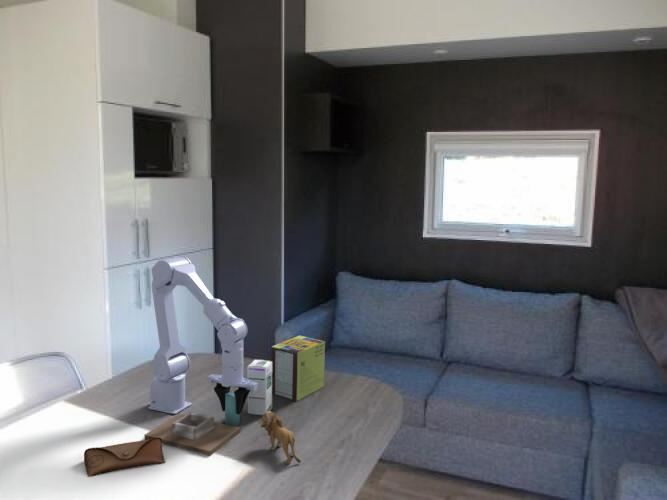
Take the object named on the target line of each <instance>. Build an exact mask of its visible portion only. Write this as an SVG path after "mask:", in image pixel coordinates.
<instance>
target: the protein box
mask: <svg viewBox="0 0 667 500" xmlns="http://www.w3.org/2000/svg"><path fill="white" fill-rule="evenodd" d="M270 349H271V350H270V355H271V357H270V361H272V396H273V395H274V396H277V397H280V398H281V397H282V398H283V399H284V398H285V399H288V400H291V401H295V402H298V401H300V400H302V399H304V398H305V397H307V396H309V395H310V394H313V393H315V392H316V391H318V390H320V389H322V388H324V386H325V362H326V361H325V360H326V359H325V354H326V352H325V350H326V340H322V339H317V338H313V337H308V336H303V335H297V336H295V337H293V338H290V339H287V340H285V341H282V342H280V343H277V344H275V345H272V346H271V347H270Z"/></svg>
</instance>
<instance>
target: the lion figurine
mask: <svg viewBox="0 0 667 500" xmlns="http://www.w3.org/2000/svg"><path fill="white" fill-rule="evenodd" d="M264 413H265V414H264V415H262V417H261V419H260V420H258V421H257V423H258V424H259V426H260V428H262V429H263V428H264V431H267V435H268V436H269V440H270V444H271V446H270V447H269V449H268V450H269V451H274V450H275V449H276V446H277V447H279V448H280V447H281V446H282V450H283V452H284V454H285V457H286V458H287V459H286V460H285V464H291V463H292V459H291V457H293V458H294V460H295V461H296V462H297V463H299V464H300V463H301V462H302V461H301V459H299V458H298V457H297V456H296V453H295V452H296V450H295V442H296V438H295V435H294V433H293V431H291V430H288V429H287V428H285V427H284V424H283V422H282V420H281V418H280V417H279V416H278V415H277V414H276V413H275V412H273V411H271V410H270V411H266V412H264ZM276 440H277V443H276V444H275V441H276ZM289 446H290V448H291V449H290V450H291V452H290V453H289Z"/></svg>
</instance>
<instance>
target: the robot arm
mask: <svg viewBox="0 0 667 500" xmlns="http://www.w3.org/2000/svg"><path fill="white" fill-rule="evenodd" d="M151 275H152V282H151V292H152V297H153V298H152V299H153V306H154V313H155V321H156V327H157V328H156V329H157V334H158V342H159V347H158V349H157V351H156V353H155V354H154V356H153V360H154V361H153V362H154V363H153V367H152V372H153V375H154V377H153V379H152V380H151V382H150V388H149V390H150V394H149V396H150V406H148V409H149V410H154V411H158V412H163V413H166V414H171V415H178V414H179V413H180V412H182V411H183V410H185V409H187V408H188V407H189V406H191V405H192V402H191V401H186V376H187V372H188V371H189V370H190V368H191V359H190V357H189V356H188V353H187V348H186V347H185V346H183V345H182V344H181V342H180V337H179V331H178V330H179V329H178V324H177V323H178V322H177V316H176V308H175V301H174V294H173V292H174V291H173V290H174V289H175V288H176V287H177V286H182V287H185V288H186V289H187V290H188V291H189V293H191V294H192V295H193V296H194V298H195V299H196V300H197V301H198V302H199V303H200V304H201V305H202V306H203V310H202V311H203V314H204V315H205V316H206V318H207V319H208V320H209V322H210V323H211V324H212V325H213V327H215V329H216V330H217V333H216V334H217V335H216V336H217V338H218V340H219V342H220V348H221V374H213V373H212V374H211V375H208V377H207V378H208V379H207V381H208V382H207V383H208V384H216V386H214V387H213V391H214V393H215V394H216V395H217V397H218V400H219V403H220V407H221V410H222V412H225V394H227V393H230V392H231V388H232V387H233V388H237V389H236V390H234V391H233V392H234V395H235V398H236V413H237V414H240V415H241V414H242V413H243V411H244V407H245V403H246V401H247V399H248V394H249V392H250V391H252V392H254V391H256V390H257V389H258V383H257V382H253V381H250V380H248V378H246V377H244V339H245V337H246V336H247V335H248V331H249V329H248V326H247V324H246V322H245V320H244V319H243V318H239V317H237V316H236V315H234V314H233V313H232V311H230V309H229V308H228V307H227V305H226V302H225V301H224V300H221V299H220V298H215V297H213V295H212V294H211V292H210V291H209V290H208V288H207V287H206V286H205V284H204V282H203V281H202V279H201V278H200V277H199V275H198V274H197V271H196V266H195V265H194V264H193V263H192V262H191V260H190V259H189V258H188V256H187V257H186V256H178V257H174V258H170V259H161V260H158V261H157V262H156V263H155V264H154V265H153V266H152V268H151Z"/></svg>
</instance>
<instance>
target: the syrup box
mask: <svg viewBox="0 0 667 500" xmlns="http://www.w3.org/2000/svg"><path fill="white" fill-rule="evenodd" d="M246 367H247V379H248V380H250V381H253V382H257V383H258V389H257V390H256V391H254V392H252V391H250V392H249V394H248V396H247V413H248V414H251V415H255V416H256V415H258V416H264V414H265V413H264V412H266V411H271V410H272V409H273V394H272V361H271V360H267V359H253V361H252V362H251V363H250V364H248V365H247V366H246Z"/></svg>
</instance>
